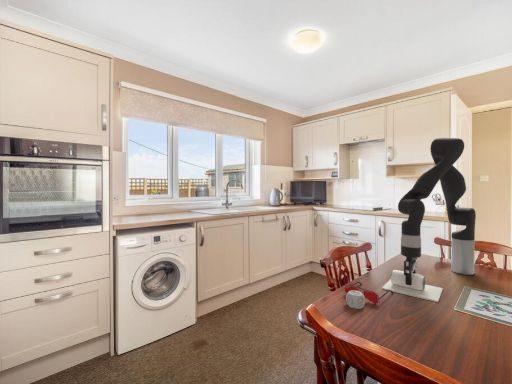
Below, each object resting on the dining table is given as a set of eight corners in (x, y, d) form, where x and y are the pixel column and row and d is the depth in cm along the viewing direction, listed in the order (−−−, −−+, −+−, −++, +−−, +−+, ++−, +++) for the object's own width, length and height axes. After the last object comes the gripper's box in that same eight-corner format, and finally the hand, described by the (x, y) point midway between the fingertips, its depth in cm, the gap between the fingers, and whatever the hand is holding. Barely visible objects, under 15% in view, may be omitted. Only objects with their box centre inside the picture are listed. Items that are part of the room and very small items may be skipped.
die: (356, 302, 100) (356, 289, 99) (365, 307, 95) (365, 294, 95) (345, 304, 98) (345, 291, 98) (354, 310, 93) (354, 296, 93)
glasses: (343, 296, 106) (343, 284, 106) (360, 285, 117) (360, 274, 117) (378, 307, 96) (378, 294, 96) (393, 294, 107) (393, 282, 107)
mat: (391, 278, 124) (391, 277, 123) (442, 289, 110) (442, 288, 110) (382, 289, 112) (382, 287, 112) (437, 302, 98) (437, 300, 98)
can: (393, 266, 116) (424, 272, 108) (395, 275, 119) (426, 281, 111) (390, 278, 112) (422, 284, 104) (392, 287, 115) (423, 294, 107)
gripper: (417, 249, 103) (417, 289, 103) (423, 243, 114) (423, 279, 114) (397, 246, 108) (396, 284, 108) (404, 240, 119) (404, 275, 119)
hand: (410, 281), depth 111 cm, fingers open, 8 cm apart
